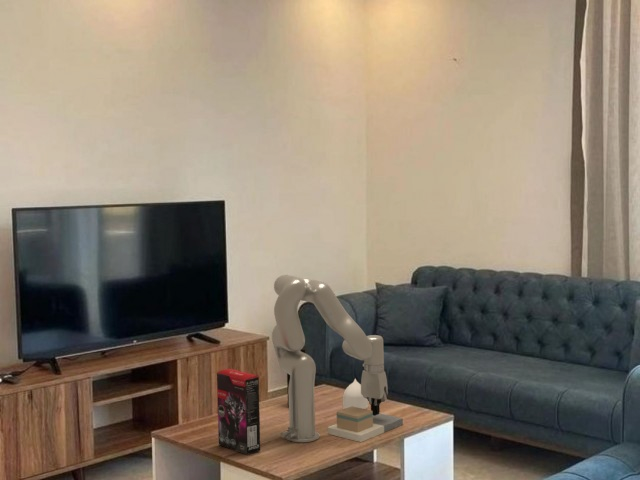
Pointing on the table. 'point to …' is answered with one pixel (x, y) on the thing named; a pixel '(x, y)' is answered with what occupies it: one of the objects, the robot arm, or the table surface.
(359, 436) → the grey and cream slab
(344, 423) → the carton
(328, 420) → the table surface
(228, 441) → the graphics card box
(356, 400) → the teardrop
